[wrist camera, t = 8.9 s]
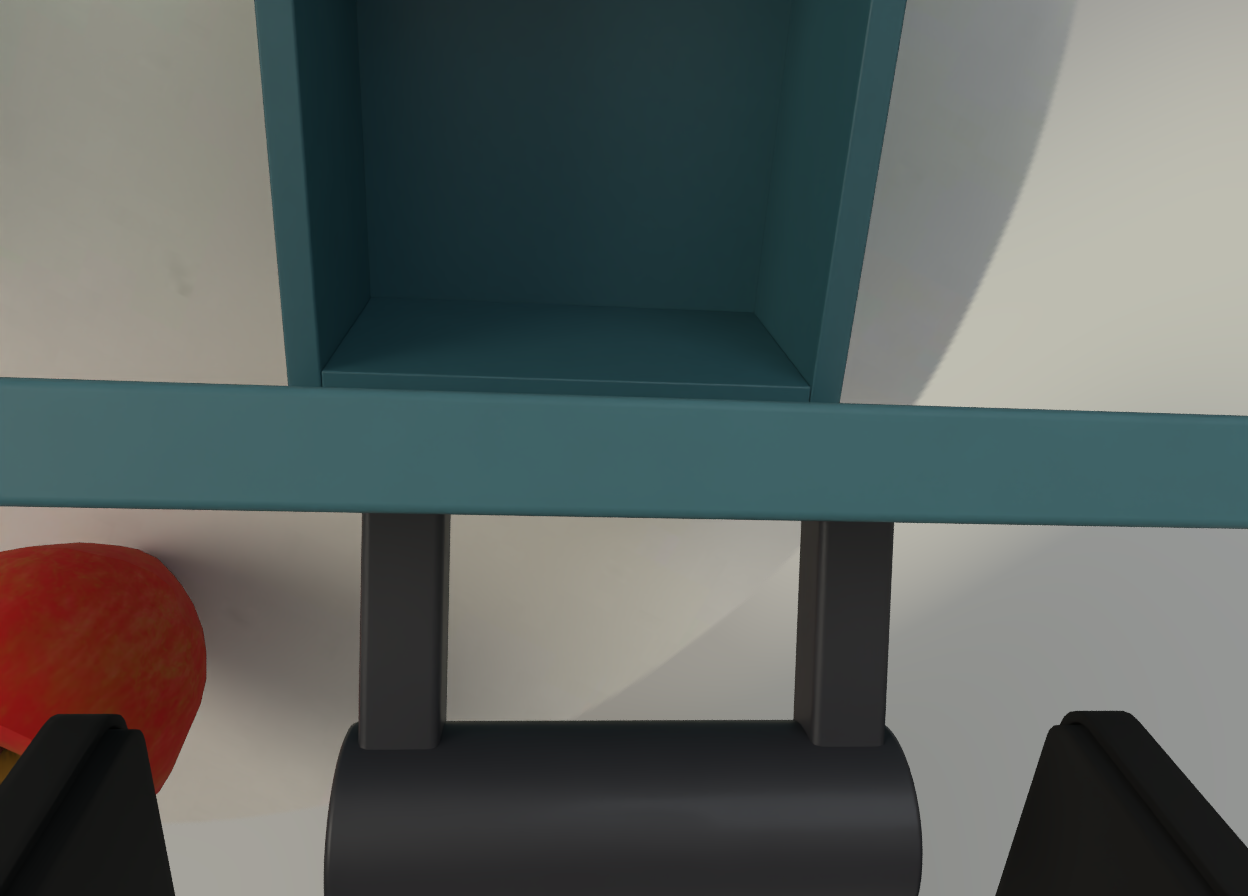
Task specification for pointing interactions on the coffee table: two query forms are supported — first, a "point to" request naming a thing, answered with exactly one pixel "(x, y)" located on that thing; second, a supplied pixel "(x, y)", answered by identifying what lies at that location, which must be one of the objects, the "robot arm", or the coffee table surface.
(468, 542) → the coffee table surface
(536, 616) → the coffee table surface
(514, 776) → the cool box lid
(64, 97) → the coffee table surface
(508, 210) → the cool box
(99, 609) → the apple
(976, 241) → the coffee table surface
